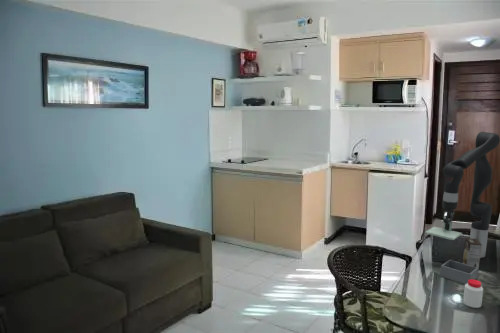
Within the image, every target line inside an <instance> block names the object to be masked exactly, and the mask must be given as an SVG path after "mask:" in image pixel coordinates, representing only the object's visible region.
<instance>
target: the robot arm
mask: <svg viewBox="0 0 500 333" xmlns="http://www.w3.org/2000/svg"><path fill="white" fill-rule="evenodd" d="M499 144H500V135H499V134H498V133H494V132H488V131H487V132H486V131H480V132H478V134H477V135H476V138H475V148H472V149H470V150H467V151H465V152H464V153H463V154H461V156H459V157H458V158H457V159H455V160H452V161H450V162H449V163H447V164H446V165H445V166H444V167H443V170H442V174H443V175H444V176H445V177H448V178H452V179H451V180H449V181H445V183H444V192H443V196H442V205H441V206H442V208H443V209H444V212H443V214H442V220H443V224H444V223H445V229H446V230H449V225H450V222H452V223H453V221H454V217H455V214H456V211H455V210H457V209H458V202H459V187H460V184H461V181H462V179H463V177H464V174H465V173H464V172H465V171H464V170H466V169H467V168H469V167H471V165H473V164H474V173H473V174H474V175H473V188H472V195H471V201H470V207H469V213H470V215H472V216H473V217H478V218H481V220H476V221H475V220H474V221H472V222H471V223H470V224H471V227H470V235H469V238H471V239H477V240H478V241H479V242H480V243H481V244H482V246H481V253H480V259H482V258H485V257H486V253H487V252H486V251H487V244H488V235H489V227H490V223H491V218H492V213H493V212H492V211H493V206H492V204H491V203H489V202H484V201H480V199H481V196H482V194H483V193H484V191H485V190H486V189H487V188H488V187H489V186H490V184H491V183H492V179H493V169H492V166H491V163H490V161H489V160H488V157H487V154H488V153H490V152H492V151H493V150H495V149H497V147H498V146H499ZM474 162H475V163H474Z"/></svg>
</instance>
